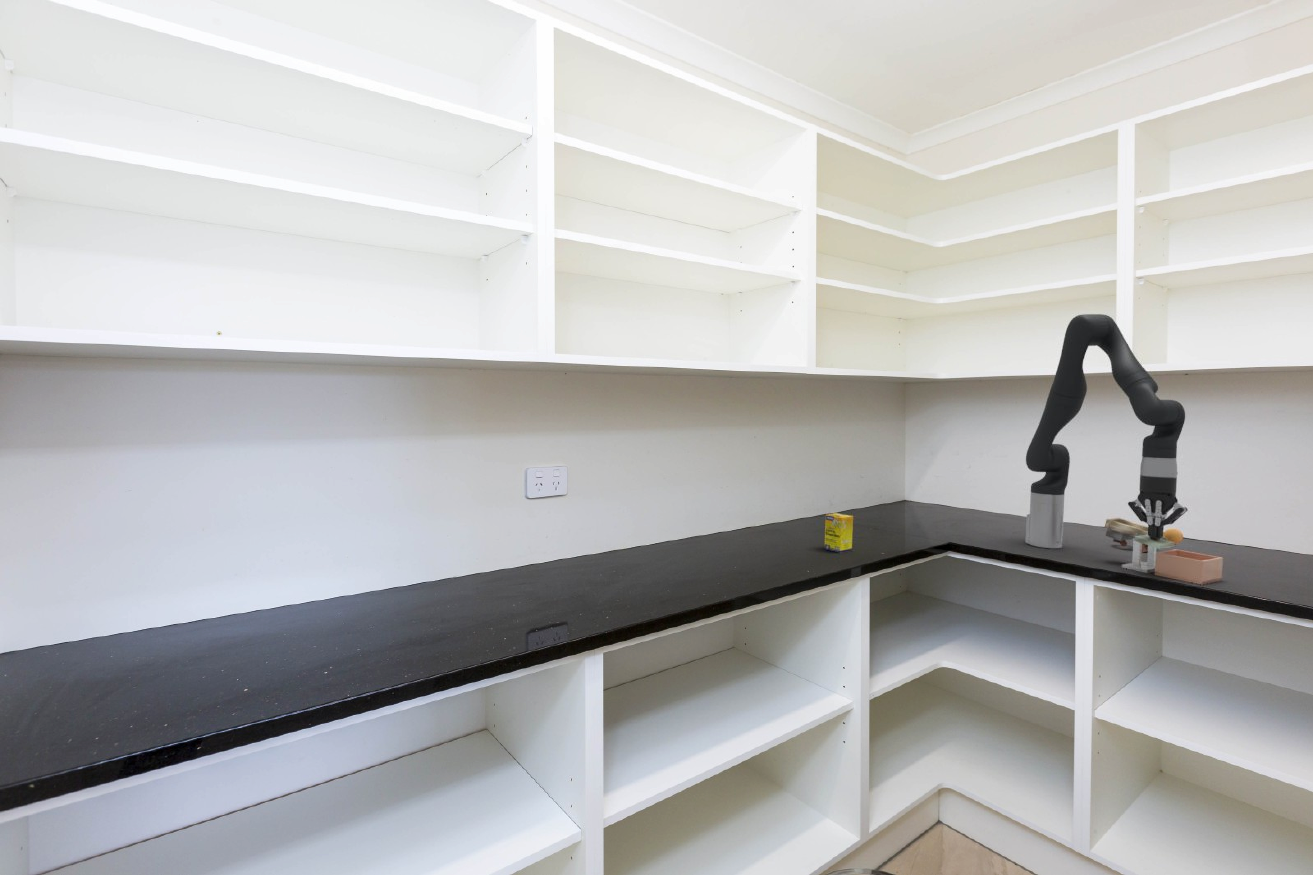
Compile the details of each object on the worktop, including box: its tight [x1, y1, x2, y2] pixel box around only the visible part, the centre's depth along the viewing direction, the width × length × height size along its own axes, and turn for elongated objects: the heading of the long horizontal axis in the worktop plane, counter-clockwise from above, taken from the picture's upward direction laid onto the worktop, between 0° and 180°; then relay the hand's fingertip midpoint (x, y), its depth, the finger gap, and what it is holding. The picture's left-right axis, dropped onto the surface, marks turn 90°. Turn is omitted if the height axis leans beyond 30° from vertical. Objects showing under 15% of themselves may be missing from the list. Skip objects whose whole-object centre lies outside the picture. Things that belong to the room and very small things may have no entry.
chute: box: [1104, 517, 1177, 550], centre depth 167 cm, size 17×13×5 cm
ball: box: [1163, 528, 1184, 545], centre depth 162 cm, size 4×4×4 cm
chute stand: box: [1121, 533, 1157, 574], centre depth 168 cm, size 6×10×10 cm, turn 116°
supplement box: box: [824, 512, 854, 554], centre depth 185 cm, size 6×6×11 cm
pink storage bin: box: [1154, 548, 1224, 586], centre depth 159 cm, size 10×10×6 cm
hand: (1155, 539), depth 160 cm, fingers closed
